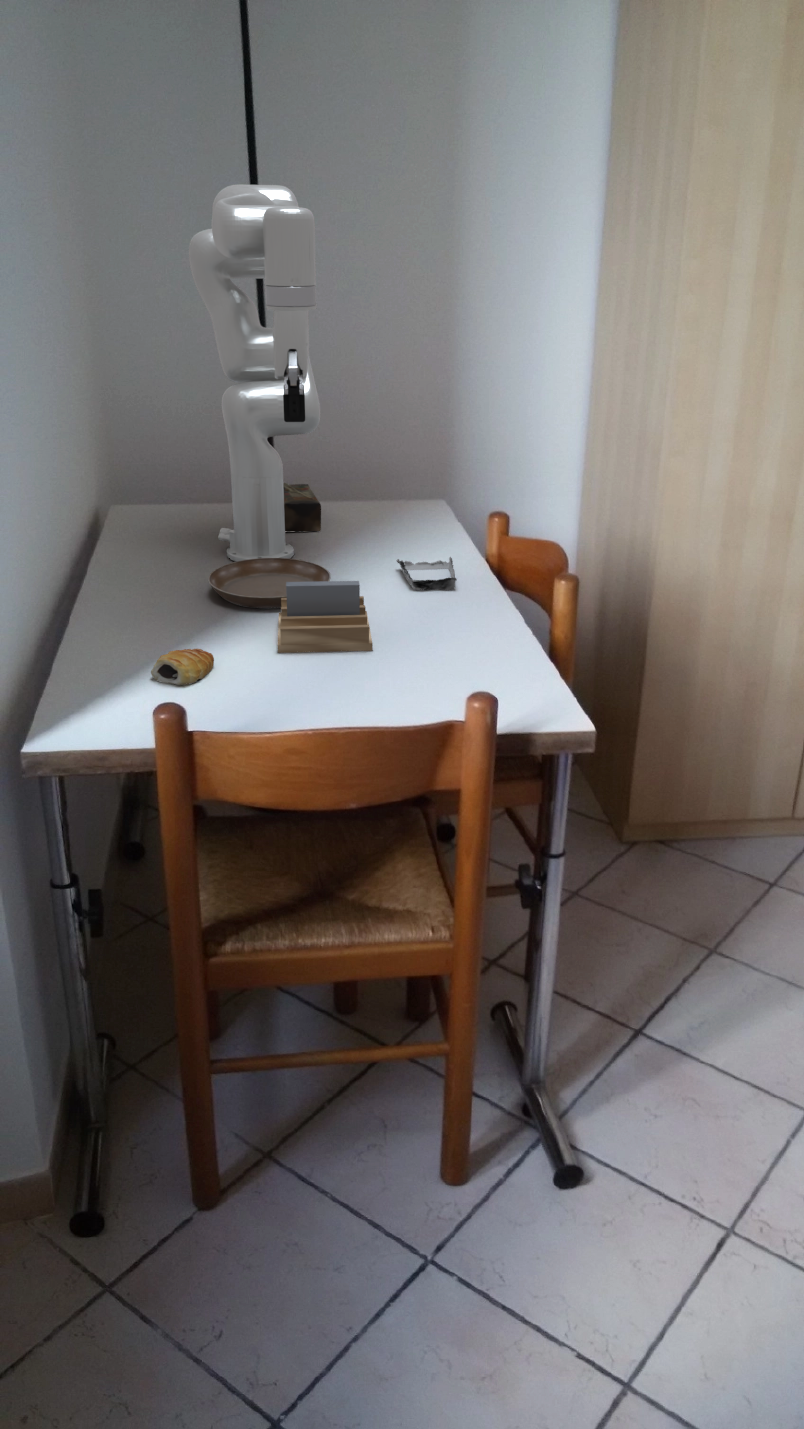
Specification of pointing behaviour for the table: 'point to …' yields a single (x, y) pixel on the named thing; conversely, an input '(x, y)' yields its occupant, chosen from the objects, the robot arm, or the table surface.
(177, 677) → the pastry
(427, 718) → the table surface
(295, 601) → the slate board
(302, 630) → the board rack
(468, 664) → the table surface
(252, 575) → the plant saucer
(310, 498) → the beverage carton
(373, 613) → the table surface
